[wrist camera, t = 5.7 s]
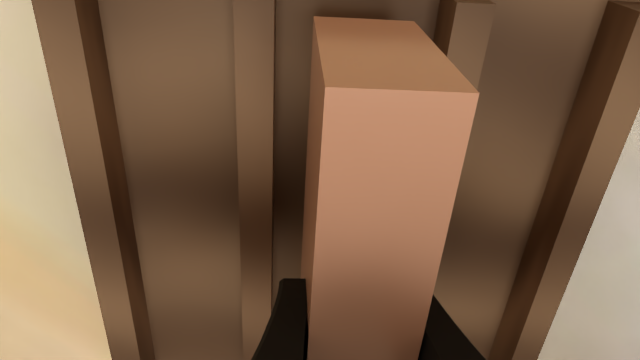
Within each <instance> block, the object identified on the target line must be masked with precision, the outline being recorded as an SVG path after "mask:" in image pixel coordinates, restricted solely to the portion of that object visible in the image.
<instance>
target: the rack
mask: <svg viewBox="0 0 640 360" xmlns="http://www.w3.org/2000/svg"><path fill="white" fill-rule="evenodd" d="M31 1H32V5H33V10H34V14H35V19H36V23H37V28H38V32H39V37H40V41H41V45H42V50H43V54H44V59H45V63H46V68H47V72H48V77H49V81H50V85H51V90H52V94H53V99H54V103H55V108H56V112H57V117H58V121H59V126H60V130H61V134H62V139H63V143H64V148H65V152H66V157H67V161H68V166H69V170H70V175H71V179H72V183H73V188H74V192H75V197H76V201H77V206H78V210H79V215H80V219H81V224H82V228H83V232H84V237H85V241H86V246H87V250H88V255H89V259H90V264H91V268H92V272H93V277H94V281H95V286H96V290H97V295H98V299H99V304H100V308H101V313H102V317H103V321H104V326H105V330H106V335H107V339H108V344H109V348H110V353H111V357H112V360H251V359H252V357H253V355H254V353H255V351H256V349H257V347H258V345H259V343H260V341H261V338H262V336H263V333H264V331H265V329H266V326H267V324H268V321H269V319H270V316H271V313H272V310H273V307H274V304H275V301H276V297H277V293H278V288H279V281H281V280H282V279H283V278H300V277H301V257H302V237H303V217H304V197H305V177H306V157H307V137H308V117H309V97H310V77H311V57H312V37H313V17H314V16H320V17H340V18H361V19H381V20H401V21H415V23H416V24H417V25H418V26H419V27H420V28H421V29H422V30H423V31H424V32H425V34H426V35H427V36H428V37H429V38H430V39H431V40H432V41H433V42H434V43H435V45H436V46H437V47H438V48H439V49H440V50H441V51H442V52H443V53H444V54H445V56H446V57H447V58H448V59H449V60H450V61H451V62H452V63H453V64H454V66H455V67H456V68H457V69H458V70H459V71H460V72H461V73H462V74H463V75H464V77H465V78H466V79H467V80H468V81H469V82H470V83H471V84H472V85H473V86H474V88H475V89H476V90H477V91H478V92H479V93H480V94H479V98H478V102H477V107H476V111H475V115H474V119H473V124H472V128H471V132H470V137H469V141H468V145H467V150H466V154H465V158H464V163H463V167H462V171H461V175H460V180H459V184H458V188H457V193H456V197H455V201H454V206H453V210H452V214H451V219H450V223H449V227H448V232H447V236H446V240H445V244H444V249H443V253H442V257H441V262H440V266H439V270H438V275H437V279H436V283H435V288H434V292H433V294H434V296H435V297H436V299H437V300H438V301H439V303H440V304H441V305H442V307H443V308H444V309H445V311H446V312H447V313H448V314H449V316H450V317H451V318H452V320H453V321H454V322H455V323H456V325H457V326H458V327H459V328H460V330H461V331H462V332H463V333H464V334H465V336H466V337H467V338H468V339H469V340H470V342H471V343H472V344H473V345H474V346H475V347H476V349H477V350H478V351H479V352H480V353H481V354H482V355H483V357H484V358H485V359H486V360H537V358H538V356H539V353H540V351H541V349H542V346H543V344H544V341H545V339H546V336H547V334H548V331H549V329H550V326H551V324H552V321H553V319H554V317H555V314H556V312H557V309H558V307H559V304H560V302H561V299H562V297H563V294H564V292H565V290H566V287H567V285H568V282H569V280H570V277H571V275H572V272H573V270H574V267H575V265H576V263H577V260H578V258H579V255H580V253H581V250H582V248H583V245H584V243H585V240H586V238H587V235H588V233H589V231H590V228H591V226H592V223H593V221H594V218H595V216H596V213H597V211H598V208H599V206H600V204H601V201H602V199H603V196H604V194H605V191H606V189H607V186H608V184H609V181H610V179H611V176H612V174H613V172H614V169H615V167H616V164H617V162H618V159H619V157H620V154H621V152H622V149H623V147H624V145H625V142H626V140H627V137H628V135H629V132H630V130H631V127H632V125H633V122H634V120H635V118H636V115H637V113H638V110H639V108H640V0H31Z"/></svg>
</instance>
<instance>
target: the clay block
mask: <svg viewBox="0 0 640 360" xmlns="http://www.w3.org/2000/svg"><path fill="white" fill-rule="evenodd" d="M479 94H480V93H479V92H478V91H477V90H476V89H475V88H474V86H473V85H472V84H471V83H470V82H469V81H468V80H467V79H466V78H465V77H464V75H463V74H462V73H461V72H460V71H459V70H458V69H457V68H456V67H455V66H454V64H453V63H452V62H451V61H450V60H449V59H448V58H447V57H446V56H445V54H444V53H443V52H442V51H441V50H440V49H439V48H438V47H437V46H436V45H435V43H434V42H433V41H432V40H431V39H430V38H429V37H428V36H427V35H426V34H425V32H424V31H423V30H422V29H421V28H420V27H419V26H418V25H417V24H416V23H415V21H401V20H381V19H361V18H340V17H320V16H314V17H313V37H312V57H311V77H310V97H309V117H308V137H307V157H306V177H305V197H304V217H303V237H302V257H301V277H300V278H305V279H306V292H307V320H306V336H305V352H304V360H418V357H419V352H420V348H421V344H422V339H423V335H424V331H425V326H426V322H427V318H428V313H429V309H430V305H431V301H432V296H433V292H434V288H435V283H436V279H437V275H438V270H439V266H440V262H441V257H442V253H443V249H444V244H445V240H446V236H447V232H448V227H449V223H450V219H451V214H452V210H453V206H454V201H455V197H456V193H457V188H458V184H459V180H460V175H461V171H462V167H463V163H464V158H465V154H466V150H467V145H468V141H469V137H470V132H471V128H472V124H473V119H474V115H475V111H476V107H477V102H478V98H479Z"/></svg>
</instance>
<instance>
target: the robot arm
mask: <svg viewBox="0 0 640 360" xmlns="http://www.w3.org/2000/svg"><path fill="white" fill-rule="evenodd" d="M306 320H307V292H306V279H305V278H283V279H282V280H281V281H279V288H278V293H277V297H276V301H275V304H274V307H273V310H272V313H271V316H270V319H269V321H268V324H267V326H266V329H265V331H264V333H263V336H262V338H261V341H260V343H259V345H258V347H257V349H256V351H255V353H254V355H253V357H252V359H251V360H304V352H305V336H306ZM418 360H486V359H485V358H484V357H483V355H482V354H481V353H480V352H479V351H478V350H477V349H476V347H475V346H474V345H473V344H472V343H471V342H470V340H469V339H468V338H467V337H466V336H465V334H464V333H463V332H462V331H461V330H460V328H459V327H458V326H457V325H456V323H455V322H454V321H453V320H452V318H451V317H450V316H449V314H448V313H447V312H446V311H445V309H444V308H443V307H442V305H441V304H440V303H439V301H438V300H437V299H436V297H435V296H434V294H433V296H432V301H431V305H430V309H429V313H428V318H427V322H426V326H425V331H424V335H423V339H422V344H421V348H420V352H419V357H418Z"/></svg>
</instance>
